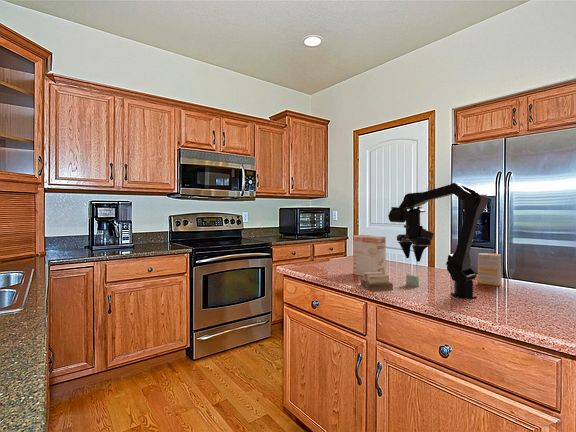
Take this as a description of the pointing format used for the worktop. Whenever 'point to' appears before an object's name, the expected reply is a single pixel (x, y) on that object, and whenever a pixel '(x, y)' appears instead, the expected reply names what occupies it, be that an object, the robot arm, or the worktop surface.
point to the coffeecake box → (369, 254)
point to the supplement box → (489, 269)
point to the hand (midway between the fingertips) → (412, 259)
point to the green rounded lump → (412, 280)
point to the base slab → (376, 286)
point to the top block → (375, 277)
